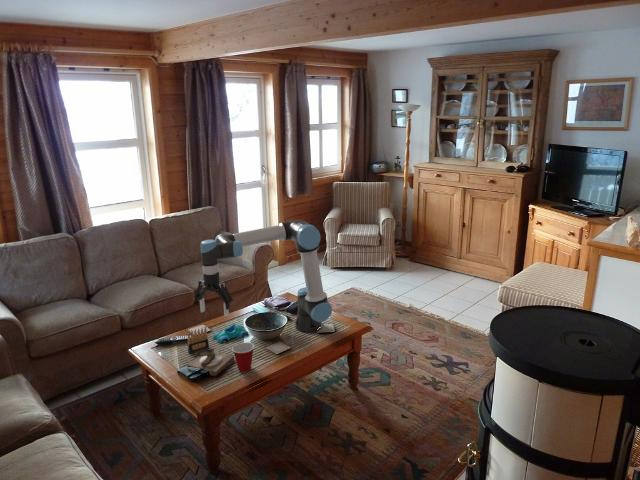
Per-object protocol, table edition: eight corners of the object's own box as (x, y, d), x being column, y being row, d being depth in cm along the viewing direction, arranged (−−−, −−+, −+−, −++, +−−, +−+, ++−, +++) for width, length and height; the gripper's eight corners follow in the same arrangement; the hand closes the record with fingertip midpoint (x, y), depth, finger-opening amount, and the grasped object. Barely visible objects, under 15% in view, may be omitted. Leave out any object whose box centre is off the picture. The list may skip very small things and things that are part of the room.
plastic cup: (248, 360, 238) (247, 339, 235) (260, 369, 230) (258, 347, 227) (229, 368, 232) (227, 345, 229) (240, 377, 224) (238, 354, 220)
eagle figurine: (206, 352, 239) (193, 357, 231) (213, 342, 236) (200, 347, 228) (216, 363, 236) (203, 369, 228) (223, 353, 234) (210, 358, 226)
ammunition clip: (189, 353, 246) (187, 332, 243) (188, 352, 248) (186, 330, 244) (209, 347, 252) (207, 326, 248) (207, 346, 253) (206, 325, 250)
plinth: (234, 360, 239) (234, 354, 238) (215, 376, 225) (215, 370, 224) (207, 354, 245) (207, 348, 244) (187, 369, 231) (187, 364, 230)
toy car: (249, 335, 265) (249, 324, 263) (219, 345, 255) (218, 334, 253) (240, 328, 273) (240, 318, 272) (211, 337, 263) (210, 326, 261)
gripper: (237, 272, 227) (240, 313, 233) (193, 267, 236) (197, 306, 242) (229, 277, 220) (232, 320, 226) (184, 272, 230) (188, 312, 235)
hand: (214, 313), depth 234 cm, fingers open, 13 cm apart
